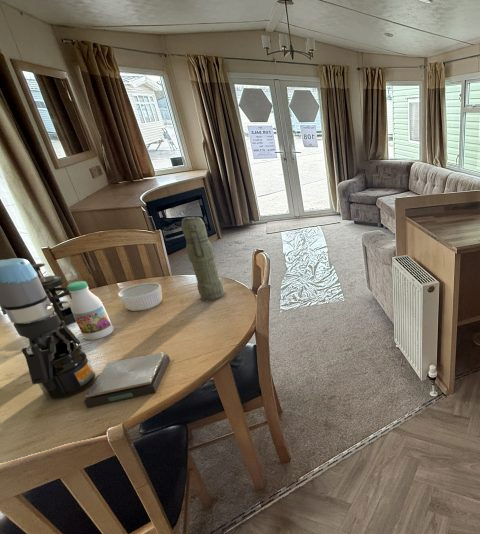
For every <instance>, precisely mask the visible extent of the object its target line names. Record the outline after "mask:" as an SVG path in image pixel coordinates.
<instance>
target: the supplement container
mask: <svg viewBox="0 0 480 534" xmlns="http://www.w3.org/2000/svg"><path fill="white" fill-rule="evenodd" d="M79 346H80V344H79V345H78V344H76V343H67V344H64V345H58V346H55V345H54V352H53V353H52V361H51V364H52V366H53V376H57V378H58V380H59V381H60V383H61V385H62V387H63V389H64V390H65V392H66V396H63V397H58V398H57V399H62V398H67V397H70V396H72V395H75V394H77V393H80V392H81V391H84V390H85V389H86V388H88V387H89V386H90V385H91V384H93V383H94V382H95V380H96V372H95V371H94V369H93V367H92V365H91V363H90V361H89V359H88V357H87V354H86V352H84V351H82V348H81V349H80V347H79ZM43 351H47V350H41V352H43ZM38 386H39V387H40V389H41V391H42V394H43V395H44V397H47V398H49V399H52V398H51V396H50V395H49V393H48V391H47V390H46V388H45V387H44V385H43V384H42V383H39V384H38Z"/></svg>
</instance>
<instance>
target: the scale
mask: <svg viewBox="0 0 480 534" xmlns="http://www.w3.org/2000/svg"><path fill="white" fill-rule="evenodd" d="M170 362H171V359H170V356H169V354H166V353H165V355H164V357H163V359H162V361H161V364H160V366H159V368H158V370H157V372H156V374H155V376H154V378H153V380H152V382H151V384H148V385H143V386H138V387H134V388H129V389H124V390H120V391H115V392H110V393H106V394H101V395H96V396H92V397H87V398H86V397H85V398H84V400H83V403H84V404H85V407H86V408H87V409H88V408H94V407H98V406H103V405H107V404H112V403H115V402H116V403H117V402H119V401H120V402H121V401H125V400H129V399H130V400H131V399H134V398H139V397H143V396H148V395H151V394H156V393H157V391H158V389H159V387H160V385H161V383H162V380H163V377H164V376H165V373H166V371H167V369H168V366H169V365H170Z"/></svg>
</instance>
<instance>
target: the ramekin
mask: <svg viewBox="0 0 480 534" xmlns="http://www.w3.org/2000/svg"><path fill="white" fill-rule="evenodd" d="M162 293H163V292H162V286H161V284H160V283H158V282H143V283H138V284H133V285H131V286H127V287H126V288H123V289H122V290H120V291H119V292H118V293H117V296H118V298H119V300H121V302H122V304H123V306H124V307H125V309H127V310H129V311H132V312H139V311H141V312H142V311H145V310H149V309H152V308H155V307H157V306H158V305H159V304H160V303H161V302H162V301H163V294H162Z"/></svg>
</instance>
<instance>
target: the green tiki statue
mask: <svg viewBox="0 0 480 534" xmlns="http://www.w3.org/2000/svg"><path fill="white" fill-rule="evenodd" d="M181 229H182V233H183V236H184V239H185V240H186V241H185V244H186V246H185V249H186V253H187V257H188V261H189V262H190V263H191V264H192V268H193V272H194V275H195V279H196V282H197V284H196V288H197V291H198V294H199V295H200V300H202V301H207V302H208V301H215V300H218V299H220V298H223V296H225V292H224V291H225V290H224V286H223V282H222V280H221V279H220V276H219V272H218V269H217V265H216V260H215V256H216V255H215V252H214V247H213V244H212V243H211V241H210V239H209V237H208V231H207V228H206V224H205V222H204V220H203V219H202V218H201V216H198V215H191V216H186V217H183V218H182V219H181Z"/></svg>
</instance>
